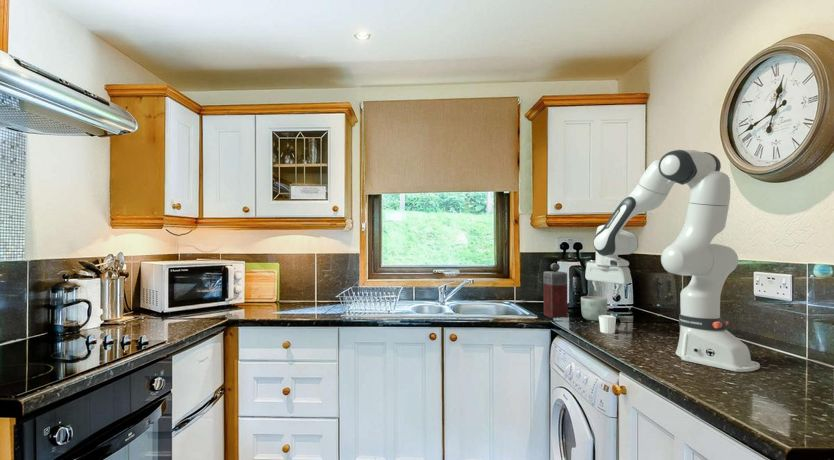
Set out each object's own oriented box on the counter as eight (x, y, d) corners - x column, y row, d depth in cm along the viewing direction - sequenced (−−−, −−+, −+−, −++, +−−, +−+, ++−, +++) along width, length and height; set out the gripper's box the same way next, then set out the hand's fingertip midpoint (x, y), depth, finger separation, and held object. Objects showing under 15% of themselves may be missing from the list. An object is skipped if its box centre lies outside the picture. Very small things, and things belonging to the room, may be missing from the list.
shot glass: (619, 334, 167) (619, 317, 167) (603, 334, 167) (602, 317, 167) (611, 330, 174) (611, 314, 174) (596, 330, 174) (595, 314, 174)
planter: (609, 318, 200) (609, 297, 200) (605, 323, 190) (604, 300, 190) (584, 316, 207) (583, 295, 207) (578, 319, 197) (578, 298, 197)
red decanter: (556, 313, 214) (556, 262, 215) (567, 317, 203) (567, 263, 204) (541, 313, 213) (541, 262, 213) (551, 317, 201) (551, 263, 202)
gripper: (582, 259, 179) (582, 289, 179) (622, 262, 161) (622, 296, 161) (591, 259, 182) (591, 289, 182) (632, 262, 164) (632, 295, 163)
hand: (606, 292), depth 171 cm, fingers open, 8 cm apart
